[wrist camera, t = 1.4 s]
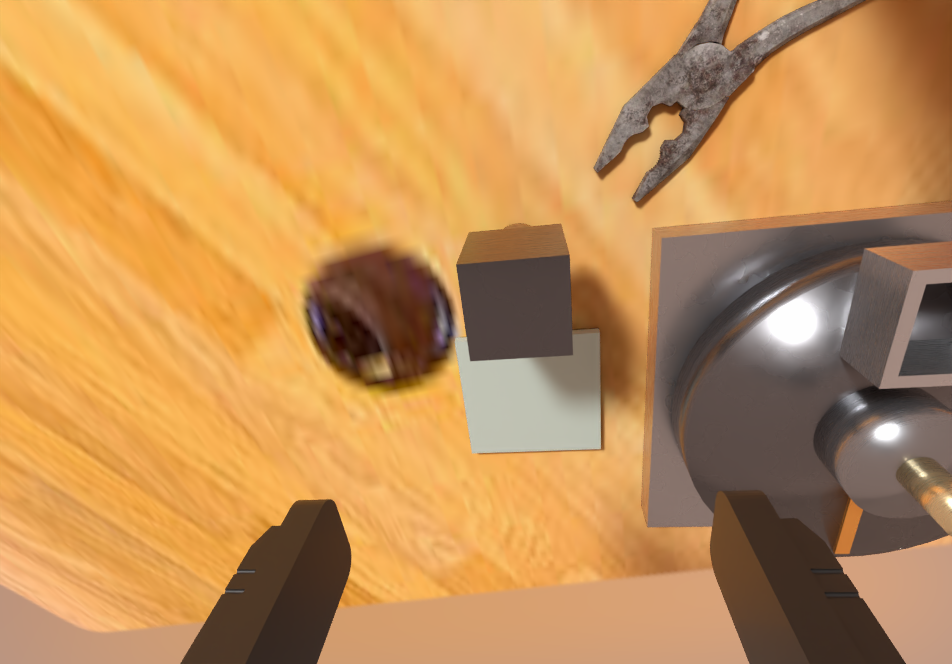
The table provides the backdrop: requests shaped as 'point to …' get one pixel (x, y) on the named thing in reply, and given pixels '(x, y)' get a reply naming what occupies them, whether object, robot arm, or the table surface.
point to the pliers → (705, 81)
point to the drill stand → (712, 290)
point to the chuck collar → (832, 396)
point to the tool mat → (534, 399)
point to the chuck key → (516, 293)
